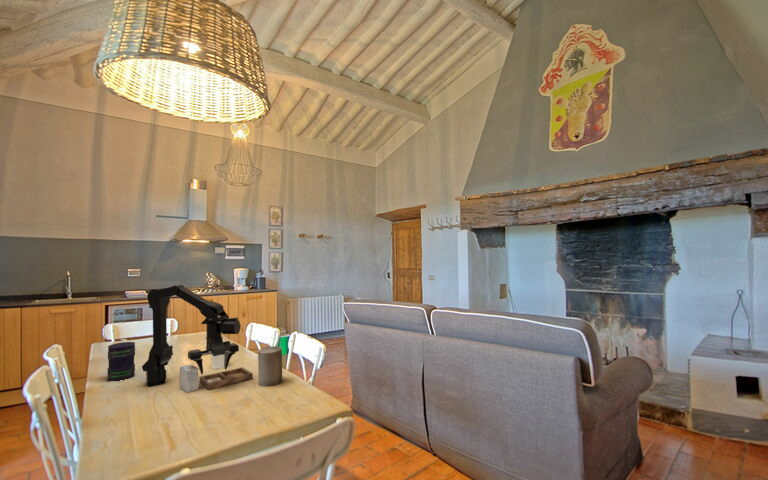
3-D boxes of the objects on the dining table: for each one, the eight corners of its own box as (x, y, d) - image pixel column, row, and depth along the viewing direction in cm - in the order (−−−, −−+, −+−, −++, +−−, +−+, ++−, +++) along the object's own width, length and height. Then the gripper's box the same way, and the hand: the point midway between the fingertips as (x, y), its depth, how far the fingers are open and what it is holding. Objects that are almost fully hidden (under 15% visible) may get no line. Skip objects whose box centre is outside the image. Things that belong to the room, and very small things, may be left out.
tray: (207, 390, 140) (207, 384, 140) (199, 382, 149) (199, 376, 149) (252, 379, 152) (252, 373, 152) (242, 372, 161) (242, 367, 161)
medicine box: (198, 389, 141) (199, 367, 141) (186, 393, 138) (187, 370, 138) (190, 385, 146) (191, 364, 146) (179, 388, 143) (179, 366, 143)
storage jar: (111, 384, 149) (111, 348, 150) (104, 379, 155) (104, 345, 156) (138, 377, 157) (138, 343, 158) (130, 373, 163) (130, 340, 164)
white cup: (223, 369, 166) (223, 348, 167) (207, 369, 166) (207, 348, 167) (231, 364, 174) (231, 343, 174) (215, 364, 174) (215, 344, 175)
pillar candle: (285, 378, 152) (285, 343, 153) (276, 386, 142) (276, 349, 143) (264, 378, 153) (264, 343, 154) (253, 386, 143) (253, 349, 144)
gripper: (194, 341, 136) (194, 382, 135) (243, 333, 148) (243, 371, 147) (187, 336, 144) (187, 375, 143) (234, 329, 156) (234, 365, 156)
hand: (214, 371), depth 147 cm, fingers open, 9 cm apart
